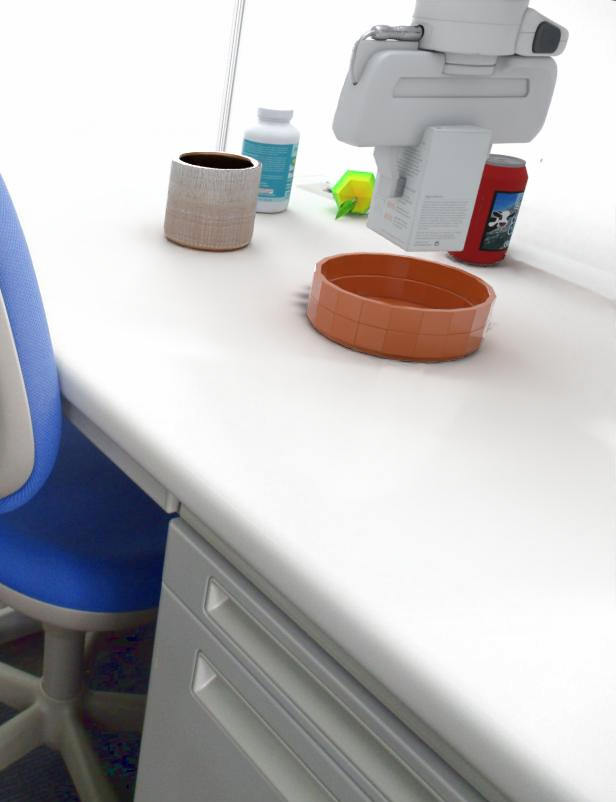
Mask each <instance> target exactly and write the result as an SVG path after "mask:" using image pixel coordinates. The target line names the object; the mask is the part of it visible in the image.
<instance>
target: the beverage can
mask: <svg viewBox="0 0 616 802" xmlns="http://www.w3.org/2000/svg"><path fill="white" fill-rule="evenodd" d="M526 165H527V160H525V159H522V158H520V157H516V156H511V155H508V154H507V155H506V154H499V153H490V155H489V157H488V159H487V160H486V162H485V166H484V170H483V174H482V178H481V182H480V185H479V189H478V193H477V197H476V201H475V205H474V209H473V213H472V217H471V221H470V225H469V229H468V232H467V236H466V240H465V244H464V248H463V250H462V251H447V253H448V254H450V256H451V257H452V259H454V260H456V261H459V262H461V263H464V264H468V265H473V266H481V267H482V266H483V267H484V266H485V267H486V266H493V265H495V264H497V263H499V262H502V261H504V260H505V259H506V256H507V252H508V250H509V246H510V243H511V239H512V236H513V232H514V229H515V226H516V223H517V220H518V215H519V212H520V209H521V205H522V202H523V199H524V196H525V191H526V187H527V185H528V180H529V173H528V170H527V166H526Z"/></svg>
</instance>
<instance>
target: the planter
mask: <svg viewBox="0 0 616 802" xmlns="http://www.w3.org/2000/svg"><path fill="white" fill-rule="evenodd" d="M261 171H262V163H261V162H259V161H258V160H256V159H254V158H251V157H247V156H244V155H241V154H239V153H233V152H227V151H216V150H187V151H182V152H177V153H175V154H173V155H172V156H171V160H170V170H169V177H168V186H167V188H168V189H167V197H166V205H165V211H164V221H163V233H164V235H165V236H166V237H167V238H168V239H170V240H171V241H172V242H173V243H176V244H178V245H180V246H182V247H186V248H190V249H195V250H202V251H214V252H215V251H216V252H220V251H221V252H222V251H233V250H238V249H241V248H243V247H245V246H246V245H249V244H250V243H251V241H252V239H253V235H254V229H255V222H256V215H257V214H256V213H257V212H256V207H257V200H258V192H259V185H260V178H261Z"/></svg>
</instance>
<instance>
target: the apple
mask: <svg viewBox="0 0 616 802" xmlns="http://www.w3.org/2000/svg"><path fill="white" fill-rule="evenodd" d="M375 180H376V176H375V174H374V172H369V171H360V170H352V169H347V170H346V171H345V172H344V174H343V175H342V176H341V177H340V178H339V179H338V180H337V182H336V183H335V184H334V185H333V187H332V188H331V189H330V190H331V194H332V196H333V198H334V202H335V204H336V206H337V209H338V211H337V213H336V215H335V218H334V221H336V220H338V219H340V218H342V217H344V216H346V215H348V214H354V215H362V216H365V215H366V213H368V212H369V209H370V204H371V199H372V195H373V190H374V185H375Z"/></svg>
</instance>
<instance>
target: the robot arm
mask: <svg viewBox="0 0 616 802" xmlns="http://www.w3.org/2000/svg"><path fill="white" fill-rule="evenodd" d="M530 1H531V0H411V4H410V7H409V13H408V17H407V22H406V25H397V26H390V25H388V24H377V25H374V26H372V27H371V28H370V29H369V30H368V31H366V32H365V33H363V34H362V35H361V36H360V37H359V38H358V39H357V40H356V41H355V42H354V44H353V46H352V49H351V54H350V60H349V65H348V68H347V71H346V74H345V77H344V79H343V82H342V85H341V89H340V92H339V94H338V98H337V102H336V107H335V110H334V113H333V118H332V124H331V130H332V131H333V134H334V136H335V138H336V140H337V141H339V142H342V143H343V144H346V145H349V146H353V147H357V148H373V154H372V155H373V158H374V161H375V165H376V167H377V170H378V171H379V174H380V179H379V183H378V188H377V193H378V195H380V196H382V197H384V198H397V197H402V195H403V193H404V190H403V188H404V187H405V184H406V179H407V178H404V177H401V176H399V172H398V167H397V161H396V159H401V158H402V156H403V152H404V148H405V146H419V145H420V143H421V140H422V138H423V134H424V130H425V128H427V127H433V126H447V125H476V126H479V127H482V128H485V129H489V130H492V131H493V134H492V138H491V142H490V146H489V150H488V154H487V158H486V160H487V159H488V157H489V155H490V154H491V153H492V152H491V151H492V149H493V145H499V144H501V145H503V144H529V143H531V142H532V141H533V140H534V139H535V138H536V137H537V136H538V135H539V133H540V132H541V131H542V129H543V127H544V125H545V124H546V123H545V122H546V120H547V116H548V113H549V110H550V107H551V103H552V100H553V96H554V92H555V88H556V85H557V79H558V65H557V61H556V60H555V59H554V58H553V57H558V56H561V55H562V54H563V53H564V51H565V49H566V46H568V45H567V44H568V41H569V37H570V32H569V30H568V29H567V28H566V27H564V26H563V25H561V24H559V23H557V22H555V21H554V20H552V19H550V18H549V17H547V16H545V15H544V14H543V13H541V12H540V11H538V10H536V8H535V9H534V8H533V7H529V4H530ZM612 1H613V2H616V0H612ZM368 38H370V39H368Z"/></svg>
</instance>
